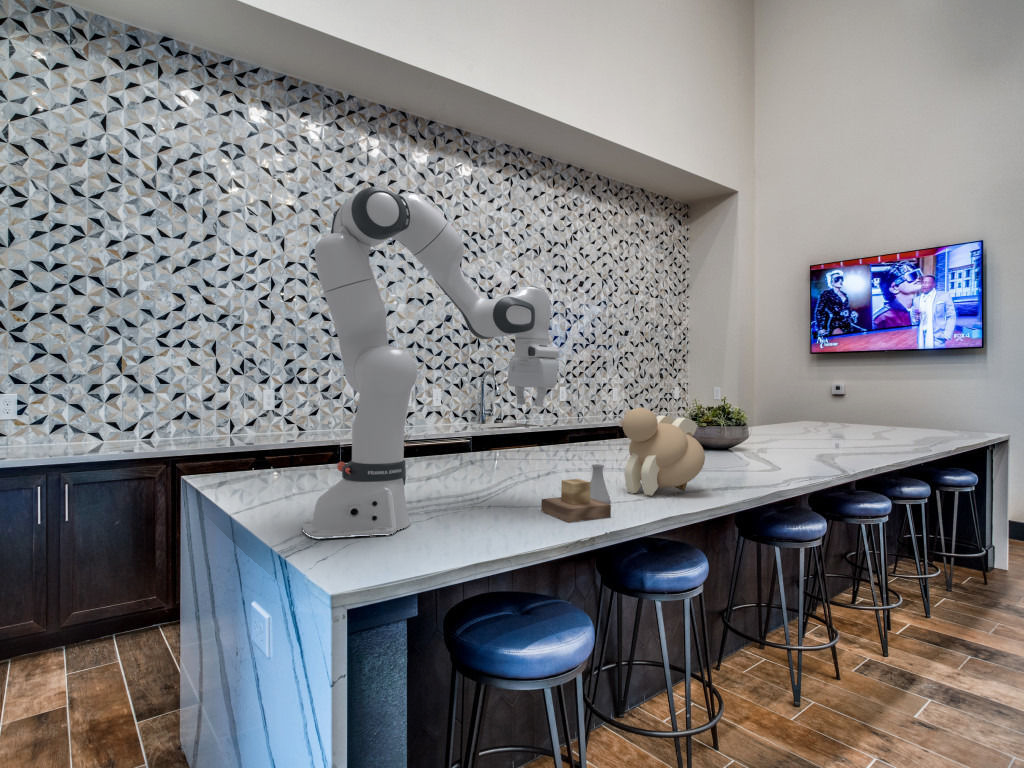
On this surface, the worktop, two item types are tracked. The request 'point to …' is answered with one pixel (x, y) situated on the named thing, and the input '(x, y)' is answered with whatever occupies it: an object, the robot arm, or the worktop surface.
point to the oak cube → (575, 491)
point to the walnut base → (576, 509)
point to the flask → (598, 485)
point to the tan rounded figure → (660, 451)
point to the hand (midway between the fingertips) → (529, 405)
